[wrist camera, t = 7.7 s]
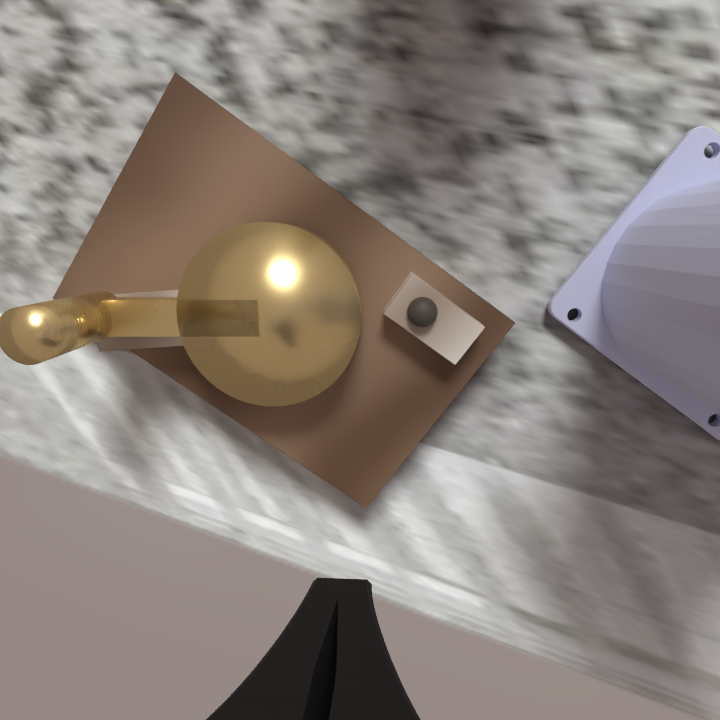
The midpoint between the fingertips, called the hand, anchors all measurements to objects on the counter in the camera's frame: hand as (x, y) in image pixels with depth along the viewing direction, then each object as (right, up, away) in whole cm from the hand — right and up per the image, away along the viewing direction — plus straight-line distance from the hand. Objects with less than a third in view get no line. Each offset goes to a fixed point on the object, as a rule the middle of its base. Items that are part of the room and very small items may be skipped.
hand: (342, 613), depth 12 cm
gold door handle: (-4, +8, +6) cm, 11 cm away
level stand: (-2, +8, +8) cm, 12 cm away
